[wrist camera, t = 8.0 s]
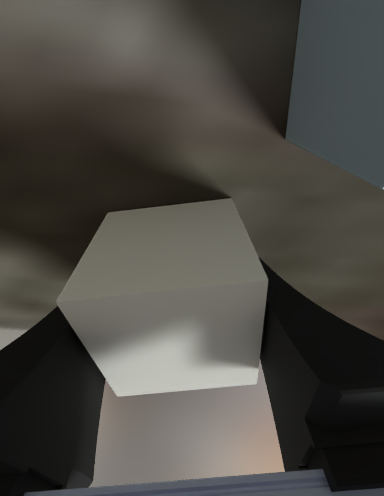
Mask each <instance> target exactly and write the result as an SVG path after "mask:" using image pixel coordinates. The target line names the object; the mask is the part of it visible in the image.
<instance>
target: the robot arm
mask: <svg viewBox="0 0 384 496" xmlns="http://www.w3.org/2000/svg"><path fill="white" fill-rule="evenodd" d="M258 258H259V257H258ZM259 260H260V262H261V264H262V267H263V269H264V271H265V273H266V276H267V278H268V288H267V297H266V306H265V315H264V324H263V333H262V342H261V351H260V360H261V365H262V369H263V373H264V377H265V381H266V385H267V390H268V394H269V398H270V403H271V407H272V411H273V416H274V421H275V425H276V430H277V435H278V440H279V444H280V449H281V454H282V459H283V464H284V469H285V472H278V473H265V474H253V475H241V476H229V477H228V476H227V477H215V478H202V479H190V480H177V481H166V482H152V483H140V484H127V485H114V486H102V487H89V486H90V484H91V483H92V481H93V475H94V464H95V454H96V443H97V435H98V427H99V419H100V410H101V405H102V398H103V391H104V385H105V380H106V378H105V377H104V375H103V374H102V372H101V371H100V369H99V368H98V366H97V365H96V363H95V362H94V360H93V359H92V357H91V355H90V354H89V352H88V351H87V349H86V348H85V346H84V345H83V343H82V342H81V340H80V339H79V337H78V336H77V334H76V333H75V331H74V330H73V328H72V326H71V325H70V323H69V322H68V320H67V319H66V317H65V316H64V314H63V313H62V311H61V310H60V308H59V307H58V306H57V307H56V308H55V309H54V310H53V311H52V312H50V313H49V314H48V315H47V316H46V317H45V318H43V319H42V320H41V321H40V322H38V323H37V324H36V325H35V326H33V327H32V328H31V329H29V330H28V331H27V332H26V333H24V334H23V335H21V336H20V337H19V338H17V339H16V340H15V341H13V342H12V343H10V344H9V345H7V346H6V347H4V348H3V349H2V350H0V496H384V340H381V339H379V338H377V337H375V336H373V335H371V334H369V333H367V332H365V331H363V330H361V329H359V328H357V327H355V326H353V325H351V324H349V323H347V322H346V321H344V320H342V319H340V318H338V317H337V316H335V315H333V314H332V313H330V312H328V311H326V310H325V309H323V308H322V307H320V306H318V305H317V304H315V303H314V302H312V301H311V300H309V299H308V298H306V297H305V296H303V295H302V294H301V293H299V292H298V291H297V290H295V289H294V288H293V287H292V286H290V285H289V284H288V283H287V282H285V281H284V280H283V279H282V278H281V277H280V276H278V275H277V274H276V273H275V272H274V271H273V270H272V269H271V268H270V267H269V266H268V265H266V264H265V263H264V262H263V261H262V260H261V259H260V258H259ZM88 487H89V488H88Z"/></svg>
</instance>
